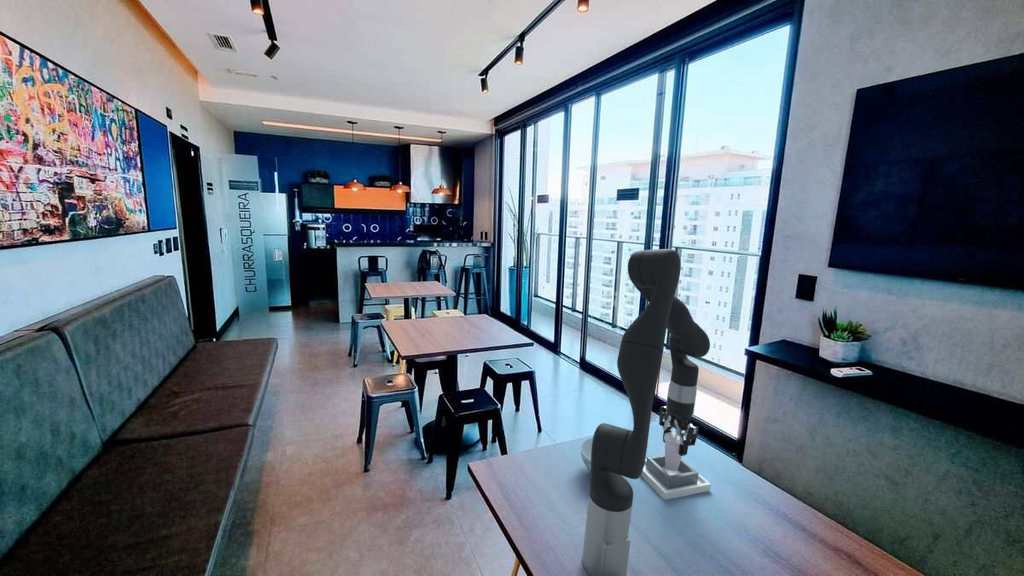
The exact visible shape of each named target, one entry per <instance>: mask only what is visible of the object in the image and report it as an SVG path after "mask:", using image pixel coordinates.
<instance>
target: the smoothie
mask: <svg viewBox="0 0 1024 576" xmlns="http://www.w3.org/2000/svg"><path fill="white" fill-rule="evenodd" d="M664 440H665V443H664V450H665V451H664V454H665V466H666V468H668V469H669V470H673V471H676V470H678V467H679V464H680V461H681V458H682V457H683V456H680V455H679V447H680V437H679V436H678V435H677V430H676V429H675V432H674V431H672V432H668V433H666V434H665V436H664ZM684 440H686V439H685V436H684ZM682 459H683V458H682Z"/></svg>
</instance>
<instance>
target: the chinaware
mask: <svg viewBox="0 0 1024 576" xmlns="http://www.w3.org/2000/svg"><path fill="white" fill-rule="evenodd" d="M592 441H593V437H590V438H587V439H585V440H584V441H583V442H582V443H581V444H580V447H579V448H580V455H581V458H582V461H583V464H584V466H585V467H586V468H587V469H588V471H589V472H591V449H592Z"/></svg>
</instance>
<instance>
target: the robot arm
mask: <svg viewBox="0 0 1024 576" xmlns="http://www.w3.org/2000/svg"><path fill="white" fill-rule="evenodd" d="M681 263H682V262H681V257H680V254H679V252H677V251H676V250H675V249H672V248H662V249H661V248H660V249H658V248H657V249H642V250H638V251H635V252H633V253H632V254H631V255H630V257H629V259H628V262H627V274H628V277H629V280H630V281H631V283H632V285H633V286H634V288H635V289H636V290H638V292H639V293H640V294H641V295H642V296H643V297H644V299H645V300H646V301H647V302H648V304H647V305H646V307H645V308H644V309H643V311H642V312H641V313H640V314H639V315H638V316H637V317H636V318H635V319H634V320H633V322H632V323H631V324H630V325H629V326H628V327H627V329H626V330H625V331H624V333H623V335H622V338H621V341H620V346H619V351H618V356H617V360H616V366H617V367H616V368H617V371H618V375H619V377H620V379H621V382H622V385H623V387H624V389H625V392H626V394H627V397H628V400H629V404H630V407H631V412H632V417H633V429H632V430H631V429H627V428H623V427H620V426H615V425H613V424H610V423H605V422H603V423H600V424H598V426H597V427H596V429H595V431H594V432H593V436H592V438H593V441H592V449H591V471H589V472H590V473H589V476H590V477H589V490H588V500H587V509H586V510H587V511H586V519H585V521H586V522H585V527H584V528H585V530H584V540H583V549H582V565H583V568H584V570H585V571H586V573H587V574H588V575H590V576H627V572H628V566H629V565H628V563H629V558H630V556H629V555H630V548H631V539H629V531H630V525H631V516H632V510H633V509H632V508H633V500H634V490H633V487H632V485H631V483H629V481H628V480H627V479H632V480H637V479H639V478H640V477H641V473H642V471H643V468H644V464H645V459H647V450H648V442H649V433H650V425H651V419H652V411H653V404H654V398H655V393H656V389H657V384H658V379H659V374H660V370H661V365H662V359H663V354H664V348H665V340H666V335H667V331H668V333H669V334H670V335H669V339H668V345H669V346H668V348H669V351H670V352H669V353H670V359H671V374H670V381H669V385H668V389H667V397H666V404H665V405H664V406H659V419H658V420H659V421H658V424H659V426H661V427H662V430H663V433H662V434H663V435H662V442H663V443H664V444H665V440H664V436H665V434H666V433H668V432H673V431H672V429H675V431H676V430H677V435H678V436H679V437H680V447H679V455H680V456H682V457H683V456H684V457H685V456H686V455H687V454H688V451H689V450H688V449H689V447H691V446H695V445H696V441H697V438H698V434H699V426H694V425H693V423H692V421H691V418H692V417H693V415H694V412H695V406H696V400H697V399H696V397H697V391H698V390H697V388H698V387H697V385H698V380H699V371H700V370H699V366H698V365H697V364H696V363H695V362H694V361H692V360H690V359H689V358H688V356H690V357H693V358H703V357H704V356H706V355H707V354H708V353H709V351H710V348H711V343H710V342H711V341H710V338H709V336H708V334H707V332H705V330H704V329H703V328H702V327H700V325H699V324H698V323H696V322H695V321H694V319H693V317H692V314H691V313H690V310H689V308H688V307H687V305H686V304H685V303H684V302H683V301H682V300H681V299H679V298H678V297H677V296H675V295H676V292H677V288H678V284H679V280H680V275H681V270H682V269H681V267H682V264H681ZM683 431H684V432H683ZM684 437H685V439H686V440H684ZM625 478H627V479H625Z"/></svg>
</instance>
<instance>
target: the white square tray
mask: <svg viewBox="0 0 1024 576" xmlns="http://www.w3.org/2000/svg"><path fill="white" fill-rule="evenodd" d="M640 477H642V479H644V480H645V482H646V483H647V484H648V486H649V485H650V487H651V488H652V489H653V490H654V491H655V492H656V494H658V495H659V496H660V497H661V498H662V499H663V500H664V501H667V500H671V499H676V498H682V497H686V496H691V495H696V494H701V493H706V492H707V493H708V492H710V491H711V487H712V483H710V481H708V480H707V479H706V478H705V477H703V476H702V475H701V474H700V473H699V472H698V471H697V470H696V469H695V468H694V467H692V466H691V465H690V464H689V463H688V462H686V461H685V460H684V459H683V458H681V461H680V464H679V467H678V470H676V471H673V470H669V469H668V468H666V466H665V453H664V454H658V455H652V456H646V458H645V464H644V468H643V471H642V473H641V475H640Z"/></svg>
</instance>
